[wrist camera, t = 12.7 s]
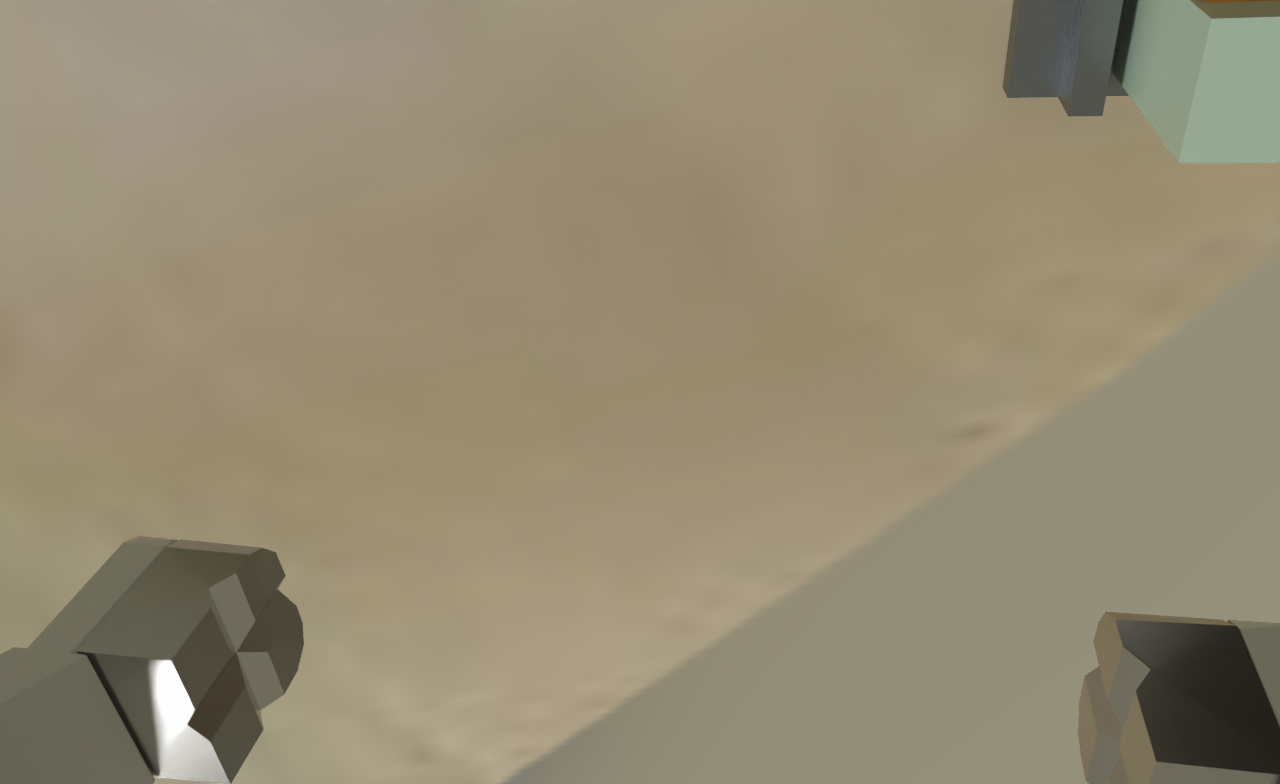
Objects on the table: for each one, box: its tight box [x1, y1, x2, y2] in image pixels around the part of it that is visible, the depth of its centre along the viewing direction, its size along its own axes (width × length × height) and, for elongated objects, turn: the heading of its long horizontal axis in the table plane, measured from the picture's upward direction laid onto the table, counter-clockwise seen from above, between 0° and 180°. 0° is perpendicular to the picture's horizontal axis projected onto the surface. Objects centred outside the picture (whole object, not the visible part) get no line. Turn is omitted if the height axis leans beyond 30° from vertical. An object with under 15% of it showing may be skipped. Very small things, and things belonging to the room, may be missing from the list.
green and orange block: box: [1114, 0, 1280, 163], centre depth 28 cm, size 4×4×8 cm
